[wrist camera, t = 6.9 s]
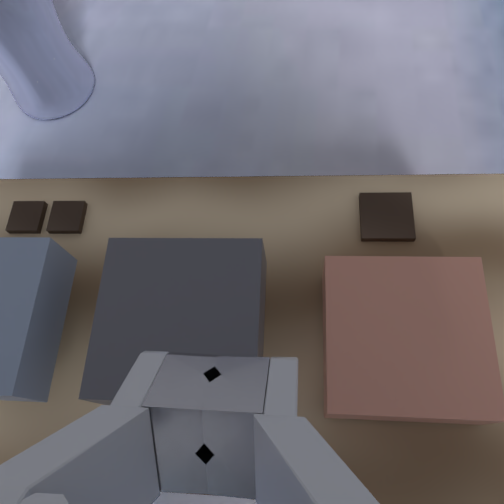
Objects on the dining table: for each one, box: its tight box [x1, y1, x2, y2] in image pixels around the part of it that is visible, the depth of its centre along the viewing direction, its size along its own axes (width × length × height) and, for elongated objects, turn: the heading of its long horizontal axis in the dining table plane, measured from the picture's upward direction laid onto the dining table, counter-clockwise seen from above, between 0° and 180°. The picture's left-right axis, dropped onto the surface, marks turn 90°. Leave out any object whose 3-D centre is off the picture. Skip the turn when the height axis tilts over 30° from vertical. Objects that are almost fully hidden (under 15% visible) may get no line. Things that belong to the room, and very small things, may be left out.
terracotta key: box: [322, 256, 504, 425], centre depth 15 cm, size 5×5×2 cm
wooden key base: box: [0, 174, 504, 504], centre depth 21 cm, size 12×26×9 cm, turn 87°
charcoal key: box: [79, 238, 267, 405], centre depth 14 cm, size 5×5×2 cm
